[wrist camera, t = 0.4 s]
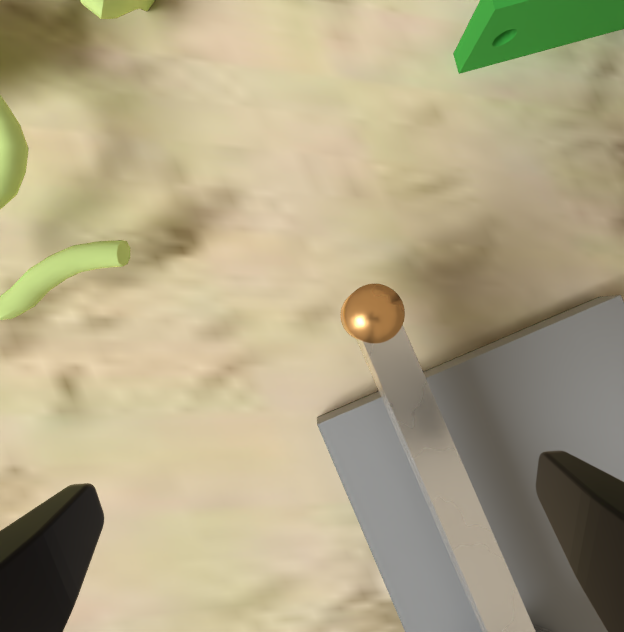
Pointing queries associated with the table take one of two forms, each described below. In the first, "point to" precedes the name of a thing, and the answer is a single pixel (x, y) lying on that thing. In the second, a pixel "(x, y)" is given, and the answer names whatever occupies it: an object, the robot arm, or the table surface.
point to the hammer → (434, 458)
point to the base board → (492, 465)
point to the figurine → (4, 182)
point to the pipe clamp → (532, 28)
